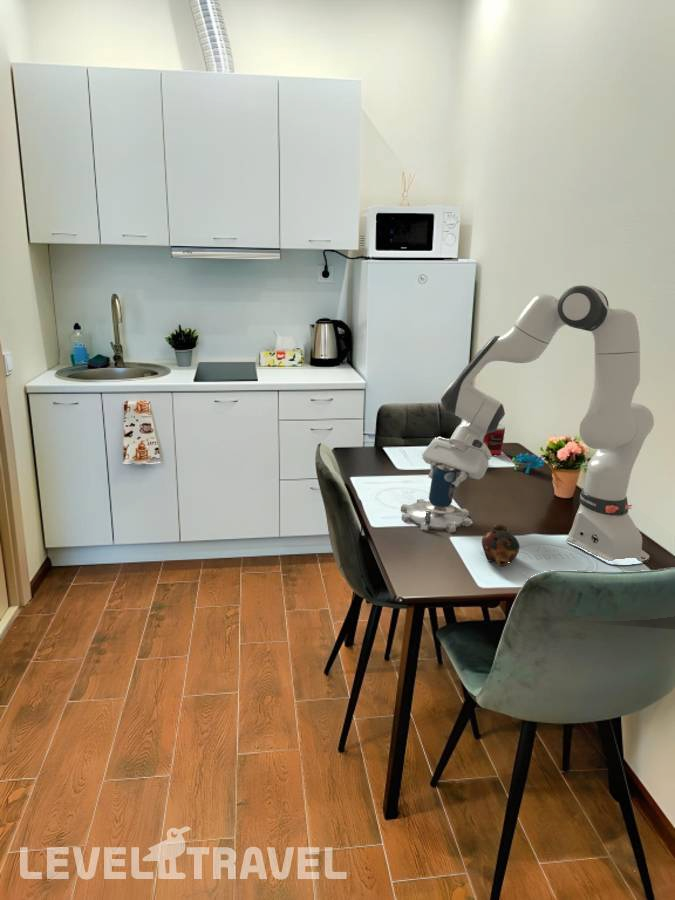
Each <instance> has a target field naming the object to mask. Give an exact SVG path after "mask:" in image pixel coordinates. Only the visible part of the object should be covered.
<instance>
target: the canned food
mask: <svg viewBox="0 0 675 900" xmlns="http://www.w3.org/2000/svg"><path fill="white" fill-rule="evenodd" d="M505 431H506V426H505V425H503V424H501V423H499V424H498V427H497V429H496V431H494V432H491V433H488V434H485V436H484V438H483V443H485V444H486V446H487V447H488V449H489V451H490V453H491V455H499V456H500V455H502V453H503V452H502V451H503V446H504V439H505V433H506V432H505Z"/></svg>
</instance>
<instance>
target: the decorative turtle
mask: <svg viewBox="0 0 675 900" xmlns="http://www.w3.org/2000/svg"><path fill="white" fill-rule="evenodd" d="M481 545H482V549H483V552H484V555H485V558H486V560H487V561H488V560H491V562H493V561H495V562H496V564H497V565H498V566H500V567H506V566H507V565H508V564H509V563H508V562H511V563H513V562H512V561H514V560H515V559H516V557H518V556H517V555H518V554H519V552H520V549H521V547H520V543H519V541H518V538H516V537H515V535H513V533H511V532H509V531H508V527H507V525H505V524H504V523H503V522H497V523H495V524H494V525H493V526H492V529H491V530H490V531H489V532H488V531H487V533H485V534H484V535H483V537H482V539H481Z"/></svg>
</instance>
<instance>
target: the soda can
mask: <svg viewBox="0 0 675 900" xmlns="http://www.w3.org/2000/svg"><path fill="white" fill-rule="evenodd" d="M457 475H458V473H456V470H455V468H452V467H448V466H447V465H443V463H438V464H436V467H435V468H434V470H433V474H432V478H431V483H430V487H429V488H430V489H429V492H428V493H429V494H428V500H429V501H428V502H430V503H431V504H432V505H433V506H436V507H440V508H446V507H448V506H449V505H450V504H451V505H452V503H453V497H454V492H455V488H456V487H455V486H453V485H452V484H451V482H452V481H453V479H454V478H455V479H456V478H457Z"/></svg>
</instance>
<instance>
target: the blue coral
mask: <svg viewBox="0 0 675 900" xmlns="http://www.w3.org/2000/svg"><path fill="white" fill-rule="evenodd" d="M511 462H512V463H513V465H514V469H513V471H514V470H515V471H517V468H518V467H522V468H525V469H526V470H525V474H526V475H528V474H529V473H530V470H534V468H535V469H536V470H539V469H540V468H543V466H544V464H545V461H544V459H543V458H542V457H540V456H538V457H537V455H536V454H532V455H530V453H528V452H526V453H525V454H524V453H523V452H522V453H520V454H519V455H518V454H517V455H516V457H512V460H511Z"/></svg>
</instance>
